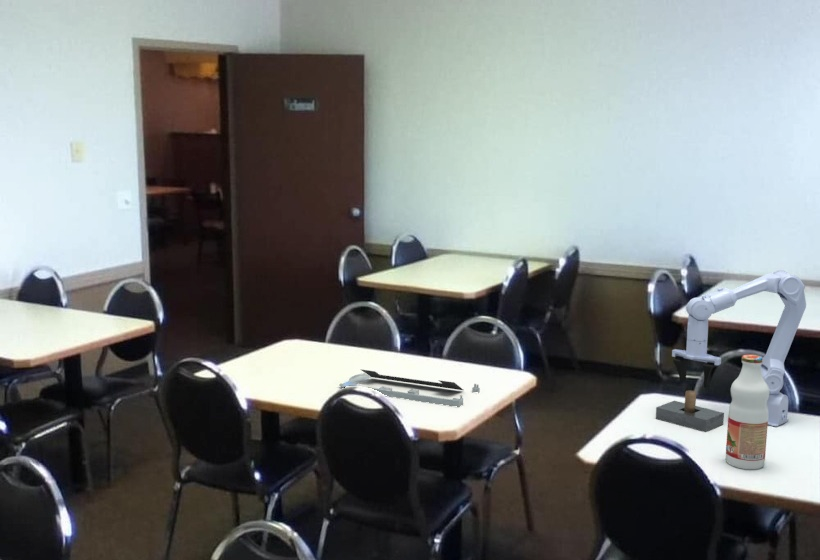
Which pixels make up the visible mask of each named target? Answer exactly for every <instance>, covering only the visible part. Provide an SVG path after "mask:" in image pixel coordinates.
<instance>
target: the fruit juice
mask: <svg viewBox="0 0 820 560" xmlns="http://www.w3.org/2000/svg"><path fill="white" fill-rule="evenodd" d="M762 362H763V356H761V355H758V354H743V355H741V363H742V366H741V370H740V373H739V375H738V376H737V378H735V380H734V381H733V382H732V383H731V387H730V397H731V402H730V403H729V406H728V413H727V415H728V416H727V430H726V431H727V432H726V445H725V446H726V447H725V461H726V463H727V464H728V465H729V466H731V467H732V466H733V467H734V468H739V469H743V470H758V469H762V468H763V467H764V465H765V462H766V452H767V439H768V438H767V437H768V426H769V425H768V408H767V400H768V398H769V387H768V385H767V384H766V382H765V381H764V379H763V376H762V372H761V365H762Z"/></svg>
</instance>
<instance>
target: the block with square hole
mask: <svg viewBox="0 0 820 560" xmlns="http://www.w3.org/2000/svg"><path fill="white" fill-rule="evenodd" d="M684 408H685V402H682V401H677V400H672V401H670V402H669V401H668V402H666V403H665V404H661V405H659V406H656V408H655V419H656V420H659V421H663V422H667V423H671V424H674V425H678V426H682V427H685V428H689V429H692V430H696V431H699V432H703V433H706V432H709V431H712V430H714V429H716V428H719V427H720V426H723V425H724V418H725V417H724V416H725V412H723V411H717V410H713V409H710V408H705V407H701V406H697V405H696V406H695V413H689V412H685V411H684Z"/></svg>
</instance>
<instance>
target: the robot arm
mask: <svg viewBox="0 0 820 560" xmlns="http://www.w3.org/2000/svg"><path fill="white" fill-rule="evenodd" d="M805 288H806V286H805V284H804V283H803V281H802V280H801V278H800V277H799V276H797V275H795V274H792V273H788V272H787V271H785V270H781V269H779V270H776V271H774V272H769V273H766V274H764V275H762V276H760V277H757V278H755V279H754V280H753V279H752V280H751V281H749V282H746V283H744V284H741V285H740V286H738V287H735V288H733V289H730V288H728V287H721V286H720V287H718V288H717V289H716V291H713V292H710V293H709V294H702V295H701V297H693V298H691V299H690V300H689V301H688V302H687V304H686V306H685V310H686V312H687V314H688V319H687V331H686V350H685V349H683V350H682V349H676V348H674V349H672V350H671V357H674V358H673V359H672V360H673V361H672V362H673V364H674V365H675V368H676V370H677V373H678V374H677V375H678V378H679V383H685V382H687V381H686V380H687V368H688V365H689V361H690V360H691V361H696V362H701V363H704V364H703V365H702V369H703V388H704V389H707V388H710V385H711V383H712V379H713V378H714V374H715V373H716V371H717V370H718V368H719V367H720V366H721V364H722V357H719V356H714V355H712V354H708V338H709V337H708V335H709V319H710V317H711V316H712V314H713V315H715V314H716V313H719V312H722V311H725V310H727V309H729V308H732V307H735V305H736V303H737V301H738V300H741V299H745V298H747V297H750V296H755V295H757V294H759V293H762V292H767V293H774V294H776V295H778V296H779V298H780V299H781V301H782V303H783V305H784V308H783V311H782V313H781V315H780V318H779V319H778V320H779V321H778V323H777V325H776V327H775V331H774V333H773V336H772V338H771V340H770V343H769V346H768V348H767V350H766V354H765V355H764V356H762V358H763V362H762V365H761V372H762V376H763V379H764V381H765V382H766V384H767V385H768V387H769V398H768V400H767V408H768V426H772V427H778V426H781V425H782V424H783V425H784V424H785V423H787V422H789V419H788V414H789V397H788V395H786V394H783V393H782V392H780V391H781V390H782V389H783V386H784V375H785V372H786V369H785V360H786V358H787V356H788V353H789V351H790V348H791V345H792V343H793V341H794V338H795V335H796V332H797V331H798V328H799V325H800V323H801V320H802V318H803V316H804V313H805V310H806V308H807V300H806V294H805Z"/></svg>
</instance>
